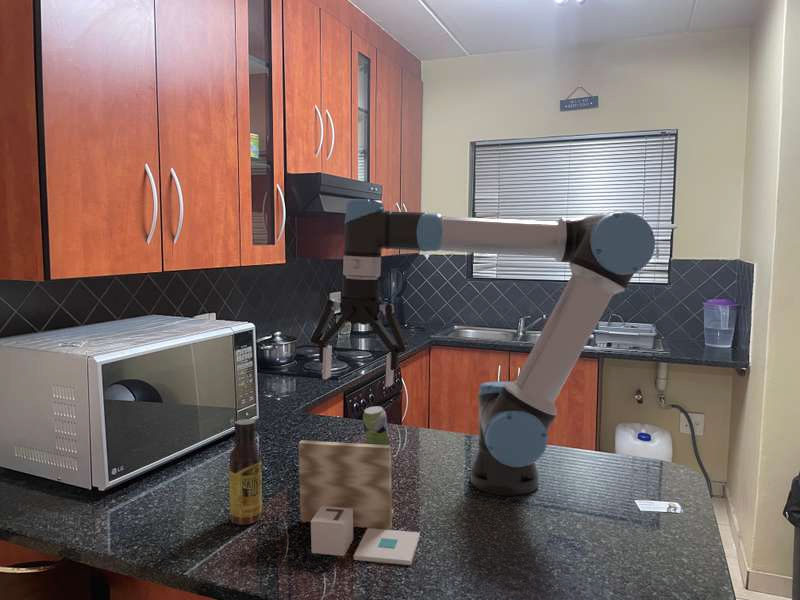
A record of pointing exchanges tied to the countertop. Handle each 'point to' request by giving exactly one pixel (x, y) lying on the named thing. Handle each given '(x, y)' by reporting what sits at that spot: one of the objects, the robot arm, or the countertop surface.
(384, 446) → the screen
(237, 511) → the sauce bottle
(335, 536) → the letter cube
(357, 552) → the tile
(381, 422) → the beverage can
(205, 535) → the countertop surface
